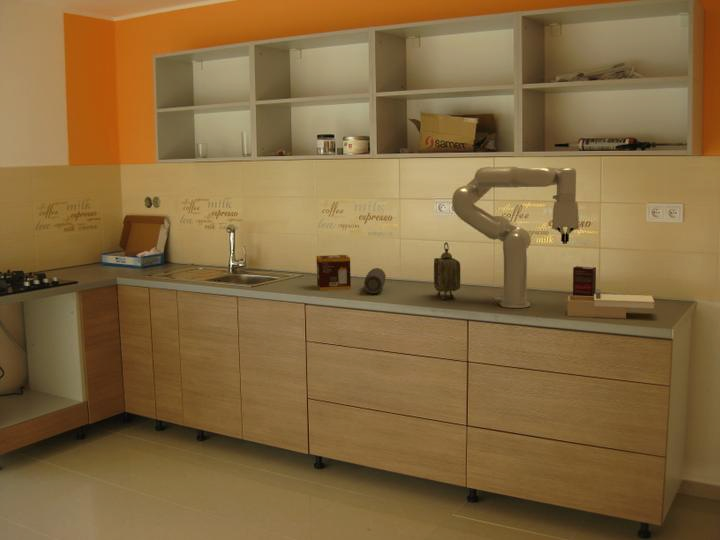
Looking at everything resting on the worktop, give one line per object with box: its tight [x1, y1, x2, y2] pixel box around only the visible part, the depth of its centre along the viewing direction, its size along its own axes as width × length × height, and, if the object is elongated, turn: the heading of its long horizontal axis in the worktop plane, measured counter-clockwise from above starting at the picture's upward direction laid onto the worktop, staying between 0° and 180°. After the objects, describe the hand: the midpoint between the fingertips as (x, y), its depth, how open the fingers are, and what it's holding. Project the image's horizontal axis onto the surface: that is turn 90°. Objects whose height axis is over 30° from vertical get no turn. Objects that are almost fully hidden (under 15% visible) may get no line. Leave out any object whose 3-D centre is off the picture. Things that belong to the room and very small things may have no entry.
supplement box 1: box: [315, 254, 352, 292], centre depth 384 cm, size 10×15×16 cm
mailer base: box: [566, 295, 627, 319], centre depth 316 cm, size 22×11×6 cm, turn 74°
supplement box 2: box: [572, 265, 597, 296], centre depth 336 cm, size 9×5×16 cm, turn 56°
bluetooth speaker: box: [363, 267, 387, 294], centre depth 375 cm, size 23×9×10 cm, turn 174°
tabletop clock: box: [433, 241, 461, 301], centre depth 354 cm, size 14×9×25 cm, turn 7°
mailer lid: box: [594, 288, 655, 309], centre depth 313 cm, size 22×13×5 cm, turn 74°
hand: (564, 243), depth 325 cm, fingers closed
